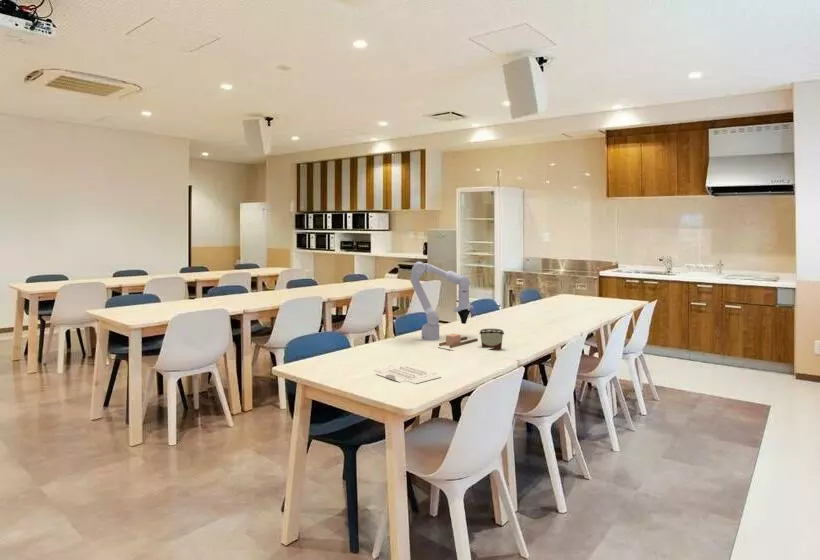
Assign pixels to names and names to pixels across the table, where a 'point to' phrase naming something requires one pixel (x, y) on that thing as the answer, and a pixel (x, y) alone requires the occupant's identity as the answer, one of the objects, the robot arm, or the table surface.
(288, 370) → the table surface
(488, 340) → the food container
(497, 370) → the table surface
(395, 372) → the white printed sheet
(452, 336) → the block
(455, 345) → the chute
